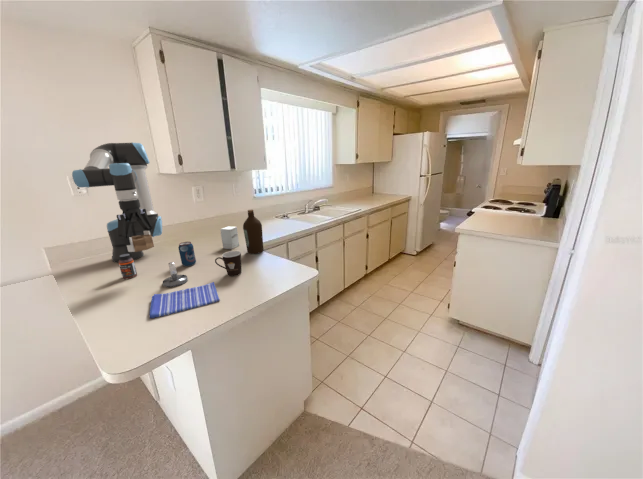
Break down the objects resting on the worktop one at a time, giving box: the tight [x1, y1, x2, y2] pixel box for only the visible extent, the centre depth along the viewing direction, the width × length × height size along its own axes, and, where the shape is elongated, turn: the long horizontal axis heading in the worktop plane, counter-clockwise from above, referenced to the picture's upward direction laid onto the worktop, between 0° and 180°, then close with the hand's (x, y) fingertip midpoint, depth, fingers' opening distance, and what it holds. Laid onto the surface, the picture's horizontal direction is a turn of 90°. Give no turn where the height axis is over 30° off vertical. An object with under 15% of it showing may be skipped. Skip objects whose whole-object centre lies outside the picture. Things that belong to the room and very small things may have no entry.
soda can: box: [178, 241, 197, 267], centre depth 140 cm, size 7×7×12 cm
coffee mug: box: [214, 250, 242, 277], centre depth 127 cm, size 12×9×10 cm
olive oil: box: [242, 209, 264, 255], centre depth 153 cm, size 11×11×25 cm
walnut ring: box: [131, 235, 155, 252], centre depth 122 cm, size 10×10×5 cm
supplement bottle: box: [117, 254, 138, 280], centre depth 128 cm, size 6×6×11 cm
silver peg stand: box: [162, 261, 189, 289], centre depth 119 cm, size 10×10×10 cm
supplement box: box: [219, 226, 240, 250], centre depth 166 cm, size 7×7×13 cm
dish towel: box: [149, 281, 220, 319], centre depth 104 cm, size 17×24×3 cm
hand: (141, 247), depth 122 cm, fingers closed on walnut ring, 10 cm apart
